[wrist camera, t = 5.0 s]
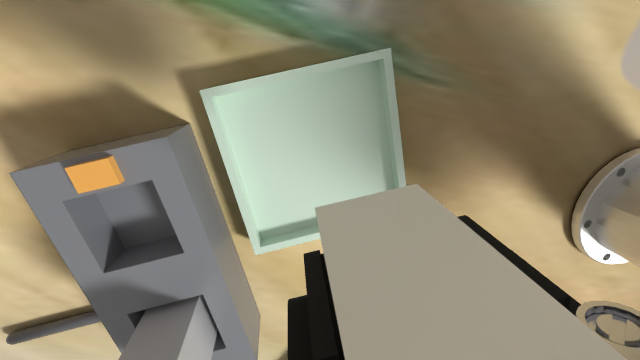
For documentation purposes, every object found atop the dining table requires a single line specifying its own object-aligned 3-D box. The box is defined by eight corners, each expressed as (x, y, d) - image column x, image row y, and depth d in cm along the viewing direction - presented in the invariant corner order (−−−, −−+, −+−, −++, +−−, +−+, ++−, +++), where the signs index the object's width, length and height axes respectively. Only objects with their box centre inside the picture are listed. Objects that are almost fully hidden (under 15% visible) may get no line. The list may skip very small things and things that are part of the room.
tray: (381, 49, 22) (390, 47, 20) (400, 205, 27) (409, 215, 25) (205, 88, 22) (199, 90, 20) (256, 242, 26) (255, 255, 24)
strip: (190, 123, 22) (127, 159, 13) (260, 315, 29) (252, 431, 20) (-100, 189, 21) (-399, 282, 12) (44, 373, 28) (-74, 525, 18)
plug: (416, 183, 11) (696, 417, 4) (425, 269, 13) (642, 573, 5) (314, 207, 11) (373, 502, 3) (334, 291, 13) (409, 637, 5)
